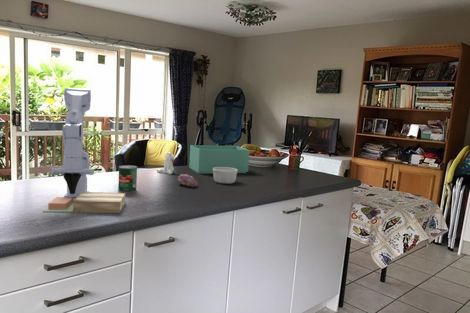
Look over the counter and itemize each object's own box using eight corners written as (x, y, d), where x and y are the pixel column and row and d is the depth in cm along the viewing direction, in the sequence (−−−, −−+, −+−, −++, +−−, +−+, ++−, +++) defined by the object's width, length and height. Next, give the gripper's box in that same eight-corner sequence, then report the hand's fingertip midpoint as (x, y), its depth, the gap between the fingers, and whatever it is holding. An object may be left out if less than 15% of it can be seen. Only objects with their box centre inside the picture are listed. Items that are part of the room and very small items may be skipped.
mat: (56, 201, 149) (56, 200, 149) (82, 201, 151) (82, 200, 150) (43, 211, 134) (42, 210, 134) (71, 212, 136) (71, 211, 136)
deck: (82, 202, 150) (82, 191, 150) (125, 202, 152) (125, 193, 152) (72, 212, 136) (73, 200, 136) (119, 212, 139) (119, 202, 138)
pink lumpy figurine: (178, 187, 194) (174, 175, 191) (183, 182, 197) (180, 170, 194) (194, 190, 189) (190, 178, 185) (199, 185, 192) (196, 173, 189)
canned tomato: (117, 192, 168) (118, 167, 167) (118, 188, 176) (118, 165, 174) (136, 192, 170) (137, 168, 169) (136, 188, 178) (137, 165, 177)
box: (248, 173, 239) (249, 149, 237) (198, 173, 227) (199, 149, 225) (235, 167, 258) (236, 146, 256) (189, 167, 246) (190, 145, 244)
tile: (72, 197, 147) (72, 202, 147) (56, 197, 146) (56, 202, 146) (66, 203, 138) (66, 209, 138) (48, 203, 137) (48, 208, 137)
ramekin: (232, 179, 216) (233, 166, 215) (240, 184, 203) (240, 171, 202) (209, 179, 212) (210, 166, 211) (215, 184, 199) (216, 171, 198)
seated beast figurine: (156, 172, 221) (156, 152, 220) (164, 170, 229) (165, 150, 228) (170, 174, 218) (171, 153, 216) (178, 172, 226) (179, 152, 224)
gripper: (47, 157, 136) (48, 195, 137) (91, 159, 138) (90, 196, 139) (54, 154, 142) (54, 191, 144) (95, 156, 145) (94, 192, 146)
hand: (72, 193), depth 142 cm, fingers closed
